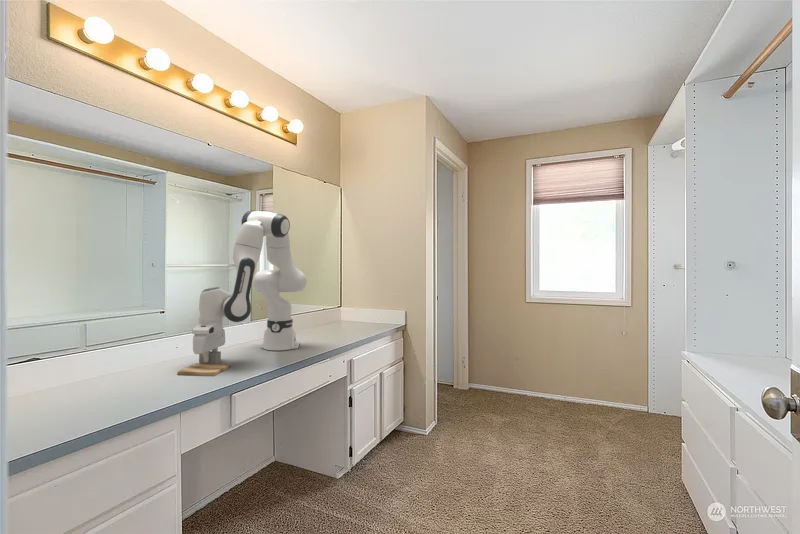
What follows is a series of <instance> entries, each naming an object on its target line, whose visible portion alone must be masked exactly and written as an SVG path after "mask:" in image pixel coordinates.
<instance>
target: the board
mask: <svg viewBox="0 0 800 534" xmlns="http://www.w3.org/2000/svg"><path fill="white" fill-rule="evenodd" d="M230 368H231V364H230V363H221V364H205V363H199V362H198V363H197V362H196V363H194V364H192V365H189V366H187V367H185V368H182V369H180V370H178V371H177V374H176V375H178V376H202V377H203V376H205V377H206V376H207V377H210V376H211V377H215V376H217V375H219V374H220V373H222V372H224V371H226V370H228V369H230Z"/></svg>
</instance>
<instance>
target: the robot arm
mask: <svg viewBox="0 0 800 534" xmlns="http://www.w3.org/2000/svg"><path fill="white" fill-rule="evenodd" d="M290 227H291V224H290V220H289V218H288V217H287V215H284V214H282V213H275V212H272V211H262V210H261V211H260V210H259V211H258V210H248V211H246V212H245V213H244V214H243V216H242V217H241V226H240V228H239V230H238V232H237V234H236V239H235V242H234V246H233V252H232V253H233V254H232V260H233V264H234V266H235V268H236V270H235V271H236V277H235V281H234V287H233V292H232V293H231V292H228V291H226V290H224V289H223V288H221V287H218V286H217V287H209V288H205V289H204V290H202V291H201V293H200V294H199V295H200V296H199V301H198V302H199V303H198V311H199V317H198V323H197V324H196V326H195V327H194V328H193V329H192V332H191V334H192V335H193V337H192V351H193V353H194V355H199V354H202V355H203V358H204V362H209V361H210V357H209V356H208V354H209V351H218V350H219V347H222V346H223V347H224V345H225V344H226V331H225V328H224V327H223V318H224V317H226V319H228V320H229V321H231V322H233V323H241V322H243V321H245V320H246V319H248V317H249V316H250V314H251V313H252V304H251V300H250V294H251V288H252V284H253V286H254V287H255V289H256V290H257V291H258V292H260V293H261V295H262V296H263V297H264V298H265V301H266V303H267V321H266V327H267V328H266V329H265V330H264V332H263V341H262V343H263V344H261V345H260V349H264V350H265V351H267V350H268V351H287V350H295V349H299V348H300V347H299V346H300V345H299V344H301V341H300V340H297V336H296V335H297V333H296V331H295V330H294V328H293V321H294V319H293V318H292V304H291V303H290V301H288V300H287V299H285V298H283V297H282V296H281V295H280V293H295V292H302V291H304V289H305V288H306V287H307V282H308V280H307V277H306V274H305V273H304V272H303V271H301V270H300V269H299V268H298V267H297V266H296V265H295V263H294V262H293V259H292V255H291V254H292V253H291V243H290V241H291V240H290V234H289V231H290ZM264 237H265V246H266V247H265V248H266V259H267V261H268V263H270V265H273V266H274V267H276V268H278V269H265V270H260V271H259V270H258V271H257V272H256V273H255V271H256V268H257V265H258V263H259V260H260V257H261V253H262V249H263V242H264ZM254 273H255V275H254Z"/></svg>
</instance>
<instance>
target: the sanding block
mask: <svg viewBox="0 0 800 534" xmlns="http://www.w3.org/2000/svg"><path fill="white" fill-rule="evenodd" d="M221 352H222V351H212V350H211V351H209V354H208V356H209V357H210V361H209V362H204V358H203V355H202V354H198V355H199V356H198V363H205V364H222V363H221V361H222V360H221V356H222V355H221V354H222V353H221Z"/></svg>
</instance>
